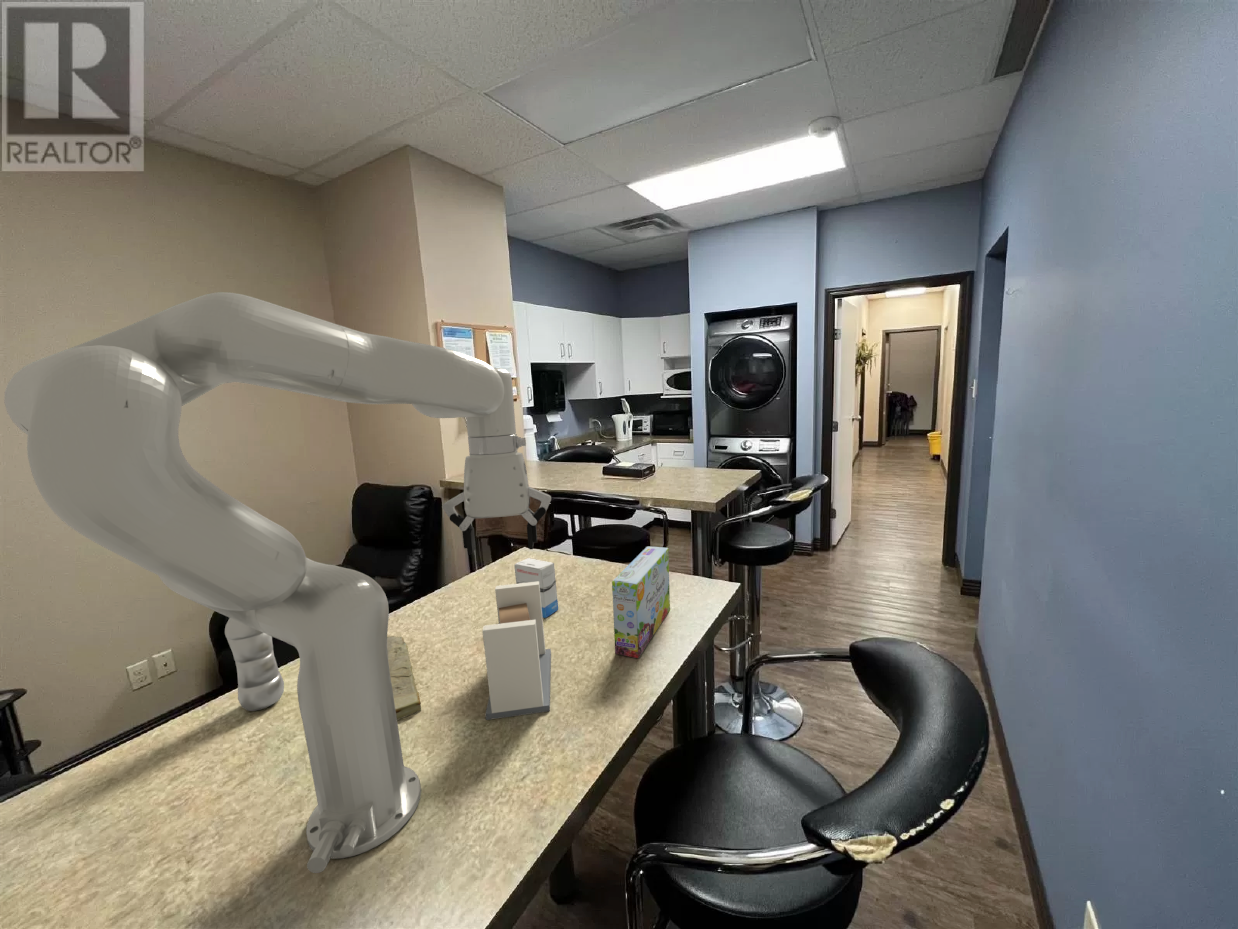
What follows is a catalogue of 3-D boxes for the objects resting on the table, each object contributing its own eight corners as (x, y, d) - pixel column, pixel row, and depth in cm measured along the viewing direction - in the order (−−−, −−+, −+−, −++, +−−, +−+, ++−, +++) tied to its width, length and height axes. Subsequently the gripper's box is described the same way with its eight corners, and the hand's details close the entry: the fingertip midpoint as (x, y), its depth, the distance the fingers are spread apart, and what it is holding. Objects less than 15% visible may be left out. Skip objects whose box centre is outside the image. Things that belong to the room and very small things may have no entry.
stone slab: (400, 624, 104) (424, 688, 78) (402, 642, 104) (427, 711, 79) (334, 641, 98) (338, 717, 72) (337, 660, 98) (341, 742, 73)
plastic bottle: (282, 687, 88) (262, 584, 85) (290, 703, 83) (269, 594, 80) (238, 705, 83) (215, 596, 80) (243, 722, 79) (220, 608, 75)
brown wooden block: (501, 628, 88) (498, 608, 88) (528, 623, 89) (526, 603, 89) (504, 662, 77) (501, 639, 76) (535, 656, 78) (533, 633, 77)
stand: (549, 711, 77) (541, 623, 74) (486, 720, 75) (475, 631, 73) (551, 653, 93) (544, 580, 91) (498, 660, 92) (490, 586, 90)
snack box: (641, 660, 89) (637, 583, 87) (614, 655, 91) (608, 581, 89) (672, 609, 109) (669, 545, 106) (648, 606, 111) (645, 544, 108)
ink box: (559, 609, 112) (555, 561, 110) (545, 619, 108) (540, 569, 106) (532, 603, 117) (527, 556, 115) (517, 611, 112) (513, 563, 111)
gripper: (547, 441, 82) (554, 539, 84) (442, 447, 80) (452, 547, 82) (547, 445, 74) (554, 552, 77) (431, 452, 72) (442, 561, 74)
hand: (501, 549), depth 79 cm, fingers open, 9 cm apart
